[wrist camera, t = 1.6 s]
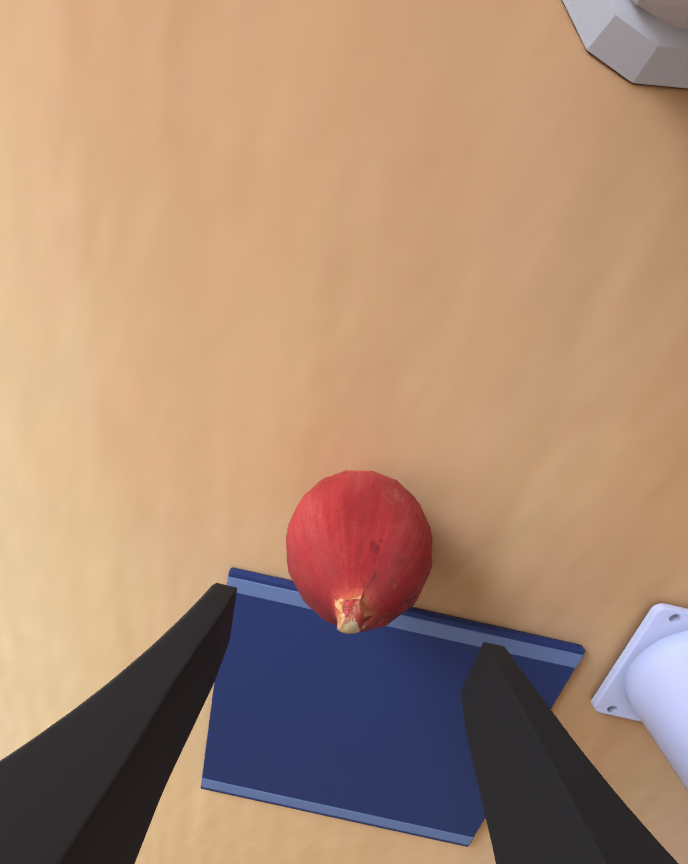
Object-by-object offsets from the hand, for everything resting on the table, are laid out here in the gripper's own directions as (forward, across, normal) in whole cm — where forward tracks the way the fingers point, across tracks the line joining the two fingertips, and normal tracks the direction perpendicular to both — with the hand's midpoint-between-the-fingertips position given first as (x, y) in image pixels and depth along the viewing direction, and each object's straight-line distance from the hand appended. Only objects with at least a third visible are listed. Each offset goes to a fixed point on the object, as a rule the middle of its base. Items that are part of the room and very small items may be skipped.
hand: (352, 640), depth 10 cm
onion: (+8, 0, 0) cm, 8 cm away
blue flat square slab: (+8, -4, +16) cm, 18 cm away
